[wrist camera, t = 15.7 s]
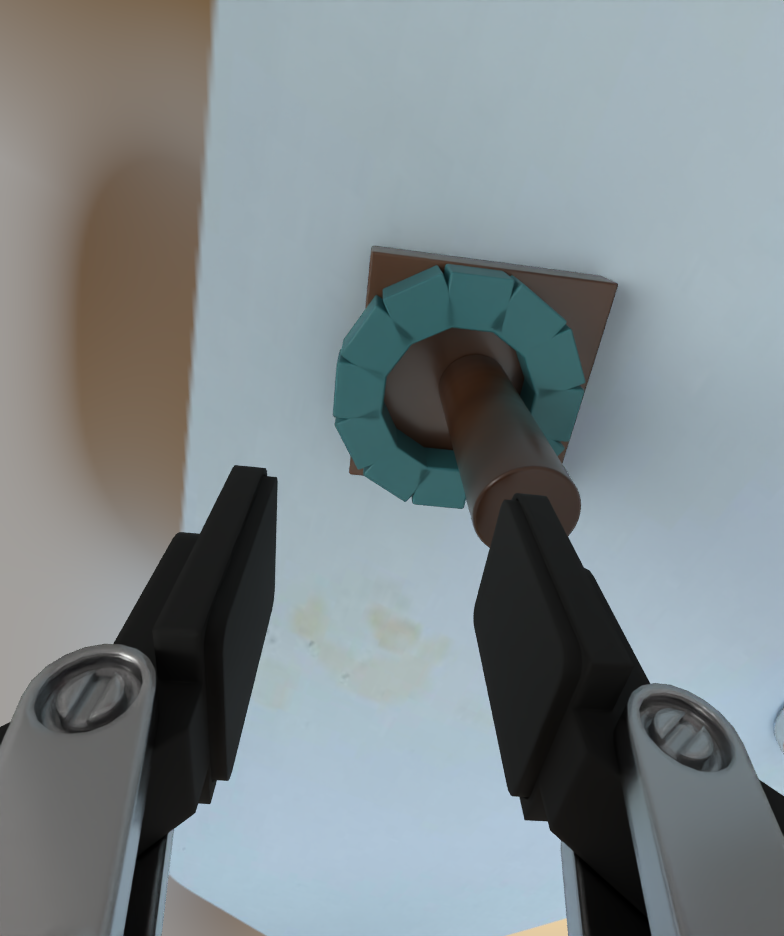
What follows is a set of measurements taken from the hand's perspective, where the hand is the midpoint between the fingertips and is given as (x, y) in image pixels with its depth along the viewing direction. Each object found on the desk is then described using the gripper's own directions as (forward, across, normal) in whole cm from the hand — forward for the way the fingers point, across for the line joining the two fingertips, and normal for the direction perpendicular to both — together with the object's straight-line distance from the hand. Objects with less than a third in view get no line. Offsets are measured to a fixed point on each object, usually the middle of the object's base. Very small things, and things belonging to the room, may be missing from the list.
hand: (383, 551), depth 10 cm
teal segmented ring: (+10, -2, 0) cm, 10 cm away
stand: (+11, -3, 0) cm, 12 cm away
